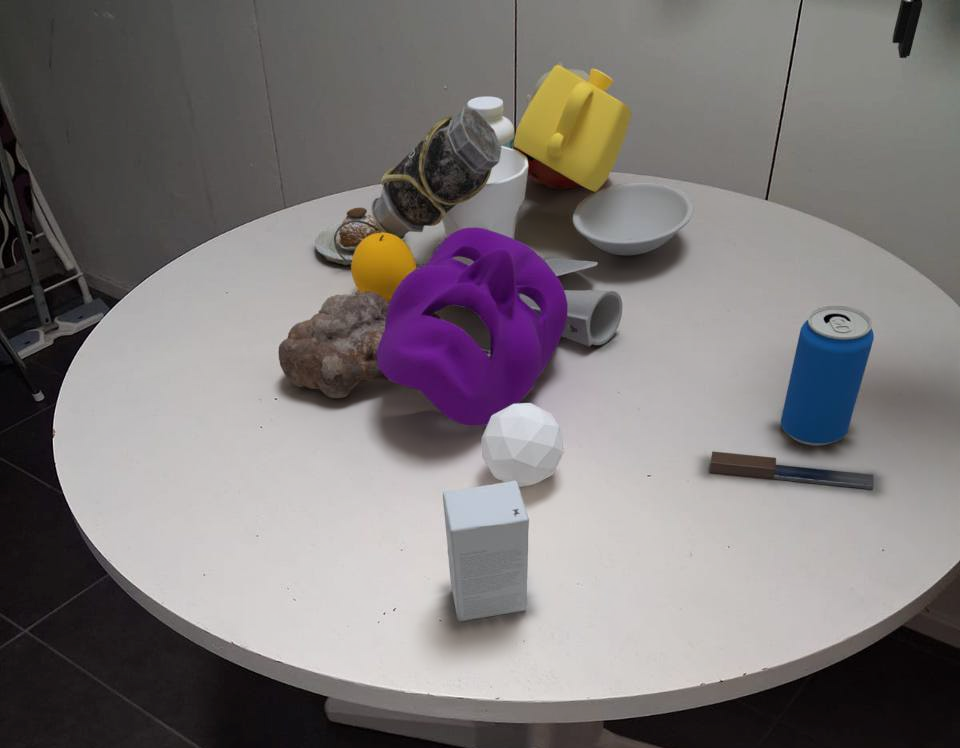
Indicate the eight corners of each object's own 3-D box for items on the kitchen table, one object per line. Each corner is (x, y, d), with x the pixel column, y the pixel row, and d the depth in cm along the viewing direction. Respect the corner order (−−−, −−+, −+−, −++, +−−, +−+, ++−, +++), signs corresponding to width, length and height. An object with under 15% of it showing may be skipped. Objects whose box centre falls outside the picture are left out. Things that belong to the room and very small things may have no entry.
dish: (656, 292, 114) (659, 252, 111) (549, 269, 120) (549, 230, 116) (708, 231, 124) (713, 192, 121) (608, 212, 129) (609, 174, 126)
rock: (429, 363, 113) (422, 275, 108) (458, 388, 104) (452, 293, 98) (277, 383, 109) (263, 292, 104) (293, 411, 99) (278, 313, 94)
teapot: (529, 151, 130) (571, 62, 125) (607, 196, 130) (652, 109, 125) (499, 138, 113) (547, 33, 107) (589, 190, 113) (641, 88, 107)
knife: (872, 477, 89) (875, 467, 88) (872, 489, 88) (876, 479, 87) (710, 461, 92) (712, 451, 91) (709, 472, 91) (710, 462, 90)
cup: (444, 229, 129) (437, 143, 120) (535, 231, 127) (534, 144, 119) (426, 274, 120) (417, 185, 112) (523, 276, 119) (521, 186, 110)
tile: (603, 261, 114) (603, 265, 114) (550, 257, 122) (550, 261, 122) (464, 297, 105) (465, 301, 106) (417, 290, 114) (418, 294, 114)
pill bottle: (498, 223, 129) (494, 116, 119) (452, 213, 132) (445, 108, 122) (525, 201, 133) (523, 96, 123) (480, 192, 136) (475, 89, 126)
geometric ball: (578, 405, 85) (562, 492, 86) (560, 416, 93) (545, 496, 94) (497, 387, 84) (480, 476, 85) (485, 400, 92) (470, 482, 93)
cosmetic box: (516, 572, 82) (519, 478, 72) (527, 612, 80) (531, 520, 70) (448, 583, 82) (441, 489, 72) (456, 623, 80) (450, 532, 70)
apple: (355, 282, 120) (345, 223, 114) (417, 276, 120) (410, 217, 115) (356, 314, 115) (346, 254, 109) (420, 308, 115) (414, 247, 109)
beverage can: (835, 409, 97) (864, 300, 88) (855, 447, 92) (887, 336, 84) (771, 414, 97) (794, 305, 88) (789, 452, 93) (814, 342, 84)
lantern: (458, 85, 105) (323, 217, 121) (449, 126, 101) (310, 257, 117) (511, 143, 110) (374, 263, 126) (504, 184, 106) (364, 302, 122)
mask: (476, 473, 96) (576, 324, 107) (525, 382, 82) (633, 224, 94) (335, 382, 95) (451, 242, 106) (361, 276, 82) (490, 129, 93)
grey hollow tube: (503, 292, 119) (625, 326, 109) (469, 318, 117) (590, 356, 106) (494, 249, 115) (620, 280, 104) (458, 275, 113) (583, 310, 102)
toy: (521, 85, 138) (518, 197, 142) (502, 52, 124) (499, 177, 128) (625, 81, 135) (618, 196, 139) (617, 47, 121) (610, 175, 125)
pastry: (401, 266, 122) (397, 230, 119) (309, 269, 123) (303, 234, 119) (408, 224, 130) (404, 190, 127) (322, 228, 131) (316, 194, 127)
